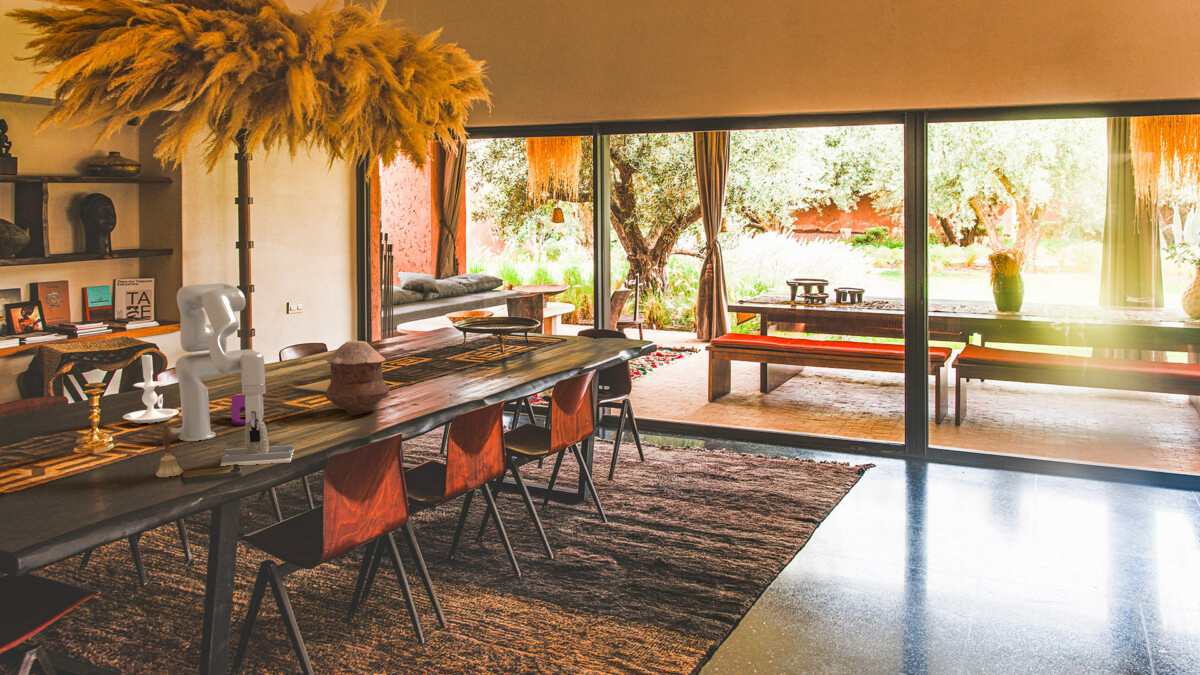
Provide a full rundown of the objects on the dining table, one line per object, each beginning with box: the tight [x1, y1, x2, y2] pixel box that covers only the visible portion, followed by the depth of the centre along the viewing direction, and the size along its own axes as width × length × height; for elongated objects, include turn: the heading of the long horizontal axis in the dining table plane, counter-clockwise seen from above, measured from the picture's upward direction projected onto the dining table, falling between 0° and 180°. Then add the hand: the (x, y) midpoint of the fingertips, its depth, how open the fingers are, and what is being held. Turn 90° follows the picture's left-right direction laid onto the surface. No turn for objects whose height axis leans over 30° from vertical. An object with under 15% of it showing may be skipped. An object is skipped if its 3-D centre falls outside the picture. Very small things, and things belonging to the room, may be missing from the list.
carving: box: [244, 421, 270, 454], centre depth 318 cm, size 6×8×12 cm
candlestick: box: [122, 353, 180, 424], centre depth 379 cm, size 21×25×28 cm
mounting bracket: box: [230, 394, 246, 426], centre depth 379 cm, size 9×8×18 cm
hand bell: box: [155, 424, 184, 478], centre depth 301 cm, size 8×8×16 cm
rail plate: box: [220, 444, 295, 467], centre depth 319 cm, size 22×14×3 cm, turn 103°
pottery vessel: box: [324, 340, 390, 415], centre depth 391 cm, size 26×26×30 cm
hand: (257, 438), depth 318 cm, fingers open, 9 cm apart
